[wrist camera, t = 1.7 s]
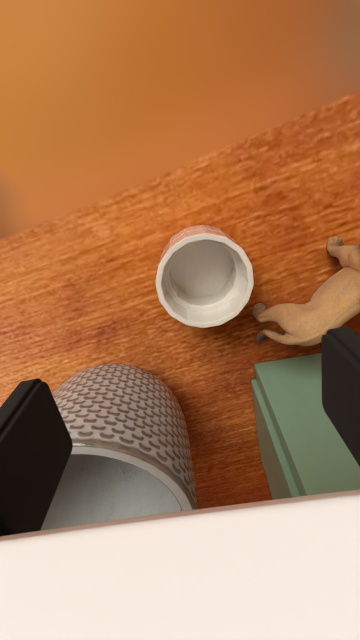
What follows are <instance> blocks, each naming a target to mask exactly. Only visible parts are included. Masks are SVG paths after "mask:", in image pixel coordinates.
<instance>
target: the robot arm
mask: <svg viewBox="0 0 360 640" xmlns="http://www.w3.org/2000/svg"><path fill="white" fill-rule="evenodd" d="M321 373H322V405H323V409H324V411H325V413H326V414H327V416H328V418H329V419H330V421H331V422H332V424H333V426H334V427H335V429H336V430H337V432H338V433H339V435H340V437H341V438H342V440H343V441H344V443H345V444H346V446H347V448H348V449H349V451H350V452H351V454H352V455H353V457H354V459H355V460H356V462H357V463H358V465H359V466H360V337H359V336H358V335H357V334H356V333H355V332H353V331H352V330H351V329H350V328H349V327H340V328H334V329H328V330H327V332H326V334H325V335H322V337H321ZM72 448H73V443H72V439H71V436H70V434H69V432H68V430H67V427H66V425H65V423H64V420H63V418H62V416H61V414H60V411H59V409H58V407H57V405H56V402H55V400H54V398H53V395H52V393H51V391H50V389H49V386H48V384H47V383H46V382H42V381H41V380H40V379H33V380H28V381H22V382H20V383H19V385H18V386H17V387H16V388H15V390H14V391H13V392H12V393H11V395H10V396H9V397H8V398H7V400H6V401H5V402H4V404H3V405H2V406H1V407H0V640H360V489H359V490H350V491H341V492H332V493H323V494H315V495H307V496H299V497H291V498H283V499H275V500H267V501H259V502H251V503H244V504H236V505H228V506H220V507H212V508H205V509H197V510H189V511H182V512H174V513H167V514H159V515H151V516H144V517H136V518H129V519H121V520H114V521H107V522H99V523H92V524H85V525H78V526H70V527H63V528H56V529H49V530H42V531H40V530H41V527H42V525H43V522H44V520H45V517H46V515H47V512H48V510H49V507H50V505H51V502H52V500H53V497H54V495H55V492H56V490H57V487H58V485H59V482H60V480H61V477H62V474H63V472H64V469H65V467H66V464H67V462H68V459H69V457H70V454H71V452H72Z"/></svg>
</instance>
